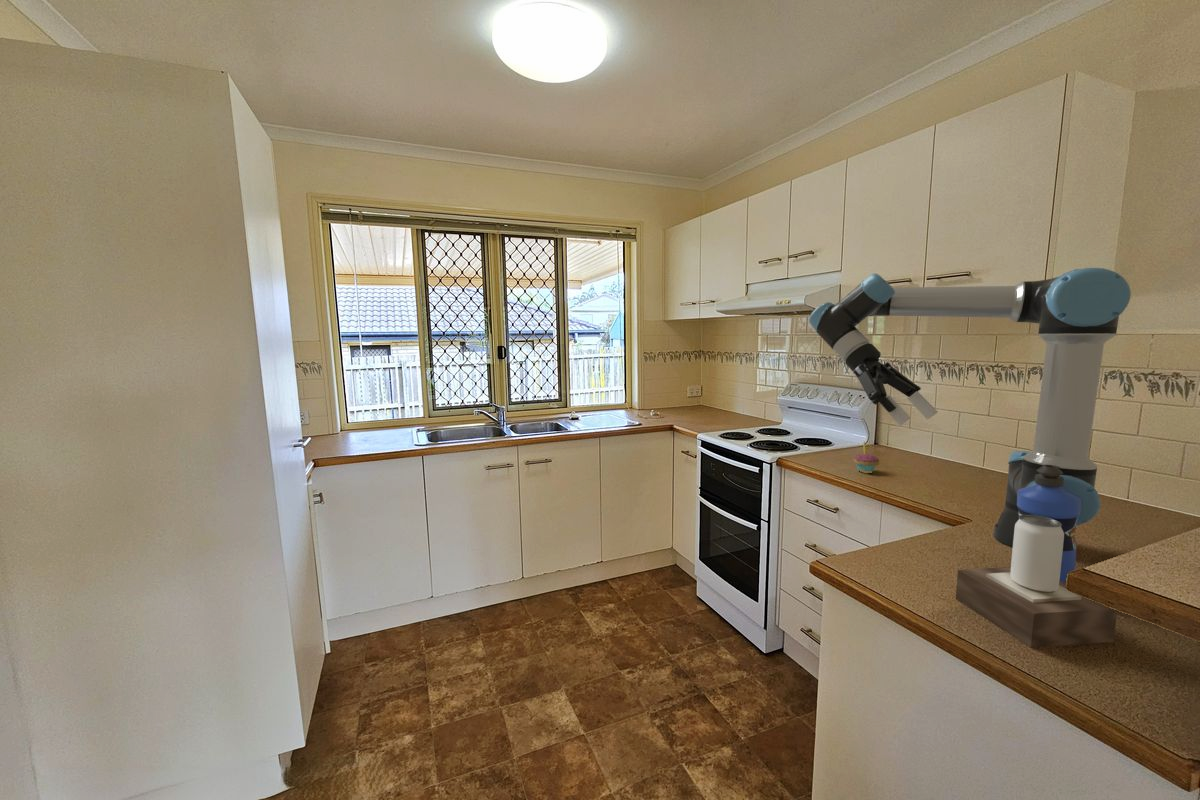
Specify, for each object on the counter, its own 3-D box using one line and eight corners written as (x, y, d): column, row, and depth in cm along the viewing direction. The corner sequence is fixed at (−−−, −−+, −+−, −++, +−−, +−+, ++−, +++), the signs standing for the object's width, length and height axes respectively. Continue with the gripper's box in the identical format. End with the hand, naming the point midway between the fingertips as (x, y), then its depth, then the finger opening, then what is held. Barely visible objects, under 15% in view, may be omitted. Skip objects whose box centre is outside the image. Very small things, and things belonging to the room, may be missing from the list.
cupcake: (848, 469, 185) (849, 439, 183) (868, 468, 186) (870, 439, 184) (862, 475, 176) (864, 444, 175) (883, 474, 177) (885, 443, 176)
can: (1010, 571, 89) (1015, 511, 88) (1057, 582, 85) (1064, 519, 84) (1009, 585, 85) (1015, 521, 83) (1059, 597, 80) (1066, 530, 79)
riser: (1026, 594, 94) (1029, 563, 93) (1113, 641, 79) (1118, 604, 78) (955, 598, 92) (958, 566, 92) (1030, 647, 78) (1034, 610, 77)
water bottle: (1012, 585, 97) (1018, 468, 94) (1013, 567, 104) (1019, 457, 101) (1076, 599, 91) (1085, 475, 88) (1073, 579, 98) (1081, 463, 95)
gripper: (871, 361, 128) (929, 422, 118) (818, 364, 114) (879, 434, 104) (893, 341, 123) (956, 403, 112) (840, 342, 109) (907, 413, 99)
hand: (919, 418), depth 108 cm, fingers open, 13 cm apart
